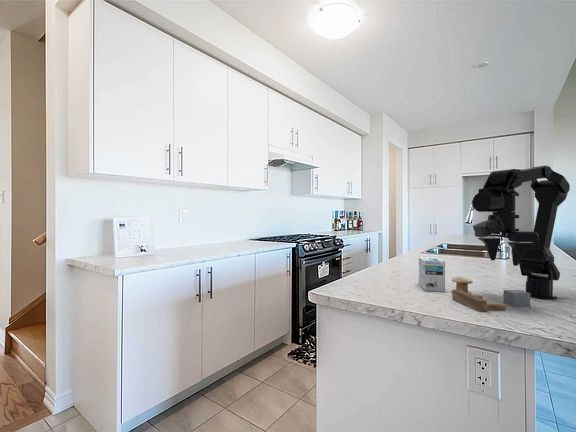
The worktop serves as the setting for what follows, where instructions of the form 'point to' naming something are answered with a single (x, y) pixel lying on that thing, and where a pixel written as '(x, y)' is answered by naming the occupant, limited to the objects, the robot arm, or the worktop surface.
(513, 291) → the blue-grey block
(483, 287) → the worktop surface
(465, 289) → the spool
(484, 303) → the notched board
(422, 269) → the light bulb box
